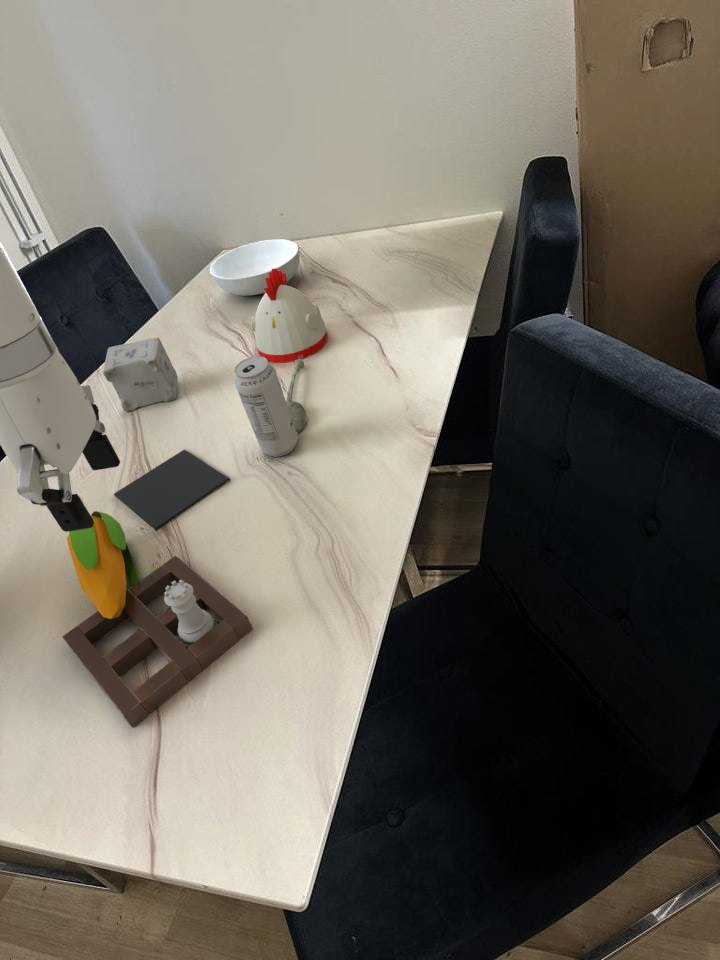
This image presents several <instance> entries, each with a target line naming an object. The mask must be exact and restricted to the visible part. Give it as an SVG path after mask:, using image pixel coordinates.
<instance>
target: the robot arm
mask: <svg viewBox="0 0 720 960" xmlns="http://www.w3.org/2000/svg"><path fill="white" fill-rule="evenodd" d="M93 395H94V394H93V392H92V388H91V385H89V384H83V385H81V383H80V382H79V380H78V378H77V376H76V375H75V374H74V372H73V370H72V369H71V367H70V366H69V364H68V363H67V361H66V359H65V358H64V357H63V356H62V354H61V353H60V351H59V349H58V347H57V345H56V343H55V341H54V339H53V337H52V335H51V333H50V332H49V330H48V328H47V326H46V324H45V322H44V321H43V318H42V317H41V315H40V314H39V311H38V309H37V308H36V305H35V304H34V302H33V300H32V298H31V297H30V294H29V292H28V290H27V289H26V286H25V285H24V283H23V281H22V280H21V277H20V276H19V273H18V272H17V270H16V267H15V266H14V265H13V263H12V260H11V259H10V257H9V255H8V253H7V251H6V249H5V248H4V245H3V244H2V242H1V241H0V447H1V448H2V450H3V452H4V453H5V456H6V457H7V458H8V460H9V462H10V463H11V466H12V467H13V468H14V470H15V471H16V473H17V482H16V491H17V493H18V494H19V495H20V496H21V497H23V498H25V499H26V500H28V501H30V503H31V504H32V505H37V506H38V505H39V506H41V507H46V508H47V509H48V511H49V512H50V514H51V515H52V517H53V518H54V520H55V521H56V523H57V525H58V526H59V528H60V530H62V531H63V532H65V533H69V531H75V530H81V529H87V528H92V527H93V524H94V521H93V519H92V517H91V513H90V512H89V510H88V509H87V507H86V506H85V504H84V502H83V501H82V499H81V497H80V496H79V495H78V493H73V491H72V484H71V478H70V472H71V471H72V470H73V469H74V468H75V466H76V464H77V462H78V461H79V459H80V457H81V455H82V454H83V456H84V458H85V459H86V462H87V464H88V465H89V467H90V468H91V470H93V471H99V470H100V471H101V470H106V469H112V468H117V467H119V466H120V464H121V460H120V458H119V456H118V453H116V451H115V448H114V446H113V445H112V443H111V441H110V439H109V437H108V435H107V434H105V433H106V426H105V424H104V423H103V422H102V421H100V413H99V411H100V410H99V407H98V405H97V404H96V403H95V399H94V396H93ZM48 465H49V466H51V467H52V468H53V469H48V470H46V468H45V466H48ZM54 468H55V469H54ZM56 477H57V484H58V489H57V488H50V486H49V479H51V478H56ZM89 513H90V514H89Z"/></svg>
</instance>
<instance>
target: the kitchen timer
mask: <svg viewBox="0 0 720 960" xmlns="http://www.w3.org/2000/svg"><path fill="white" fill-rule="evenodd" d="M269 277H270V278H265V280H266V284H267V287H268V288H264V290H265V293H263V296H262V298H261V300H260V301H259V304H258V306H257V308H256V312H255V316H254V315H252V316H251V318H250V319H251V320H250V321H251V322H250V323H251V328H252V332H254V341H255V347H256V351H257V353H258V356H260V357H264V358H266V359H267V361H268V363H269V362H270V363H276V364H282V363H284V364H285V363H291V362H295V361H296V360H297V359H302V360H303V359H305V358H308V357H311V356H312V355H314V354H316V353H317V352H319V351H320V350H321V349H323V347H325V346H326V344H327V343H328V339H329V336H328V331H327V327H326V325H325V322H324V320H323V318H322V314H321V311H320V308H319V306H318V304H317V303H316V304H314V303H313V302H312V301H311V300H310V299H309V298H308V297H307V296H306V295H305V294H304V293H302V292H301V291H300V290H299V289H298V288H297V289H296V288H295V287H293V286H290V285H288V284H287V283H288V282H287V281H286V273H282V271H281V270H280V271H277V269H276V268H275V269H272V272H269Z"/></svg>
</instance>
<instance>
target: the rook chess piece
mask: <svg viewBox="0 0 720 960" xmlns="http://www.w3.org/2000/svg"><path fill="white" fill-rule="evenodd" d="M171 583H172V586H171V587H170V586H168V585H167V587H166V588H165V590H166V591H165V592H164V593H163V594H164V598H163V600H164V603H165V604H166V605H167V606H169V607H170V606H171V609H172V611H173V612H174V613H176V614H177V617H178V620H179V623H178V632H177V634H178V638H179V640H180V642H181V643H182V644H183V645H184V646H185V647H186V648H188V647H190V646H191V645H192V644H194V643H195V642H196V641H197V640H199V639H200V638H201V637H202V636H204V635H205V634H206V633H207V632H209V631H210V630H211V629H212V628H214V627H215V626H216V625H217V624H218V623H217V619H215V617H214V616H212V615H211V614H210V613H209V612H208V611H207V610H205V611H204V610H203V609H201V608H200V607H199V606H198V605H197V603H196V598H195V596H194V595H193V587H192V586H191V585H190V584H187V583H184V581H183V580H179V583H176V581H173V582H171Z"/></svg>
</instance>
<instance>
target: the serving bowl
mask: <svg viewBox="0 0 720 960" xmlns="http://www.w3.org/2000/svg"><path fill="white" fill-rule="evenodd" d="M300 259H301V256H300V248H299V244H297V243H296V242H294V241H293V240H289V239H281V238H279V239H278V238H277V239H265V240H259V241H255V242H250V243H247V244H243V245H241V246H238V247H235V248H233V249H231V250H228V251H227V252H225V253H223V254H222V255H220V256H218V257H217V258H216V259H214V261H213V262H212V263H211V265H210V267H209V273H210V275H211V277H212V280H213V281H214V283H216V285H217V286H218V287H219V288H220V289H222V290H223V291H225V292H227V293H229V294H232V295H236V296H246V297H247V296H255V295H261V294H265V293H266V292H265V290H264V288H268V287H267V284H266V280H265V278H270V277H269V272H272V269H275V268H276V269H277V271H280V270H281V271H282V273H286V281H287V283H288V282H289V281H290V280H291V279H292V278H293V277H294V276H295V274H296V273H297V271H298V269H299V266H300Z"/></svg>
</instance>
